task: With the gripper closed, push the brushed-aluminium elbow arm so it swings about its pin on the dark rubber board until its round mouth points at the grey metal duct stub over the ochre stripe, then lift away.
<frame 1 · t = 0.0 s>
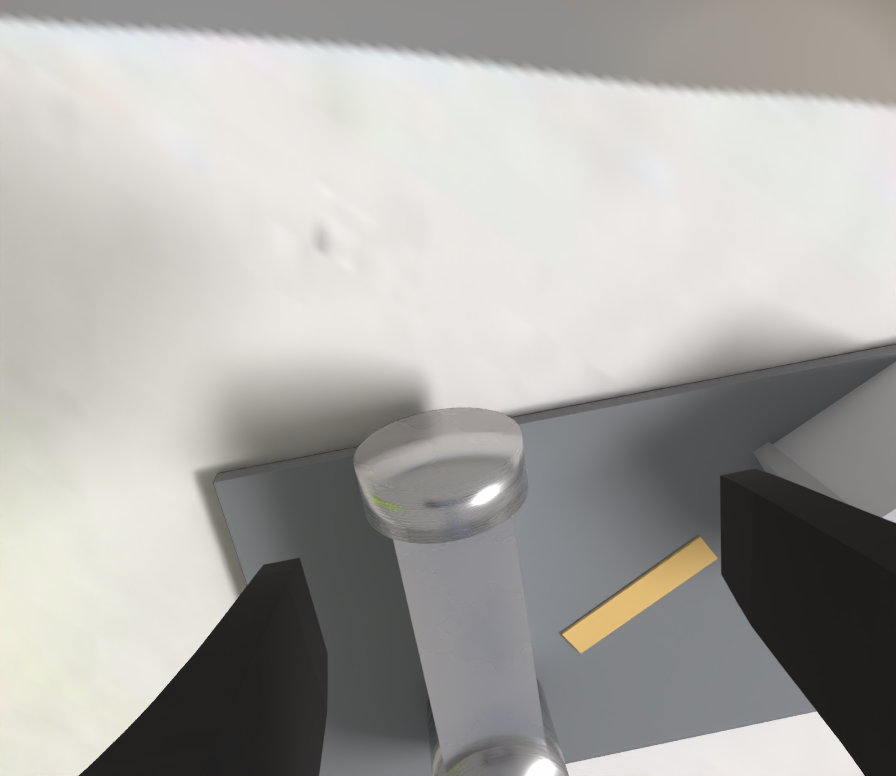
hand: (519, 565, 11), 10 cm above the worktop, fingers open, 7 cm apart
duct board: (617, 587, 24), on the worktop
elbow: (475, 647, 21), point 3 cm above the worktop, hinge at 0.0°
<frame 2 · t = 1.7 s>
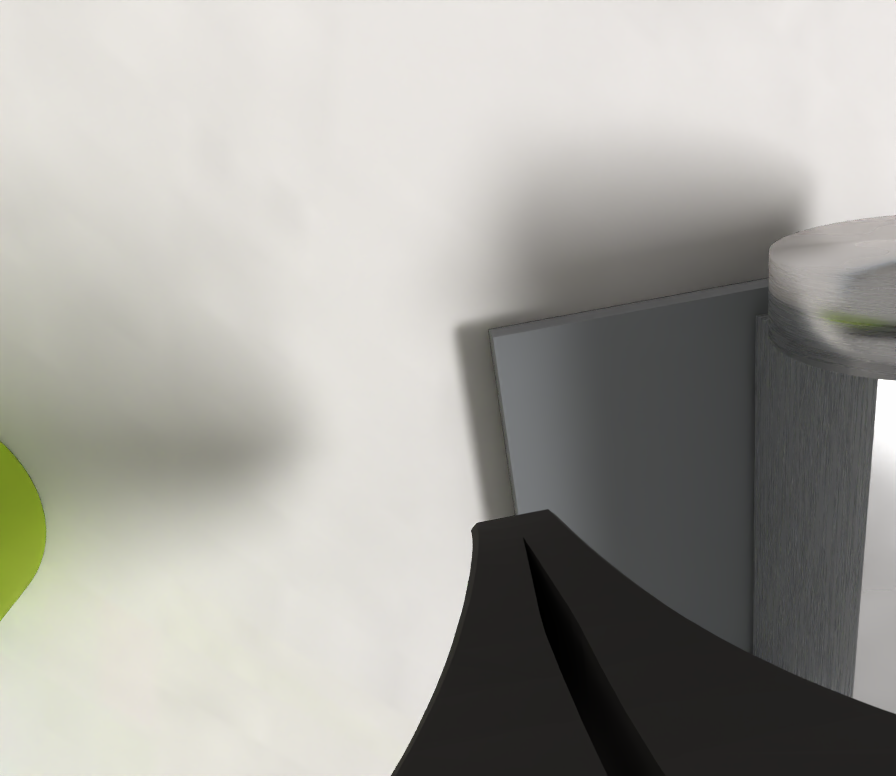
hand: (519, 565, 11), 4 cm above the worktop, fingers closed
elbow: (889, 590, 14), point 3 cm above the worktop, hinge at 0.0°
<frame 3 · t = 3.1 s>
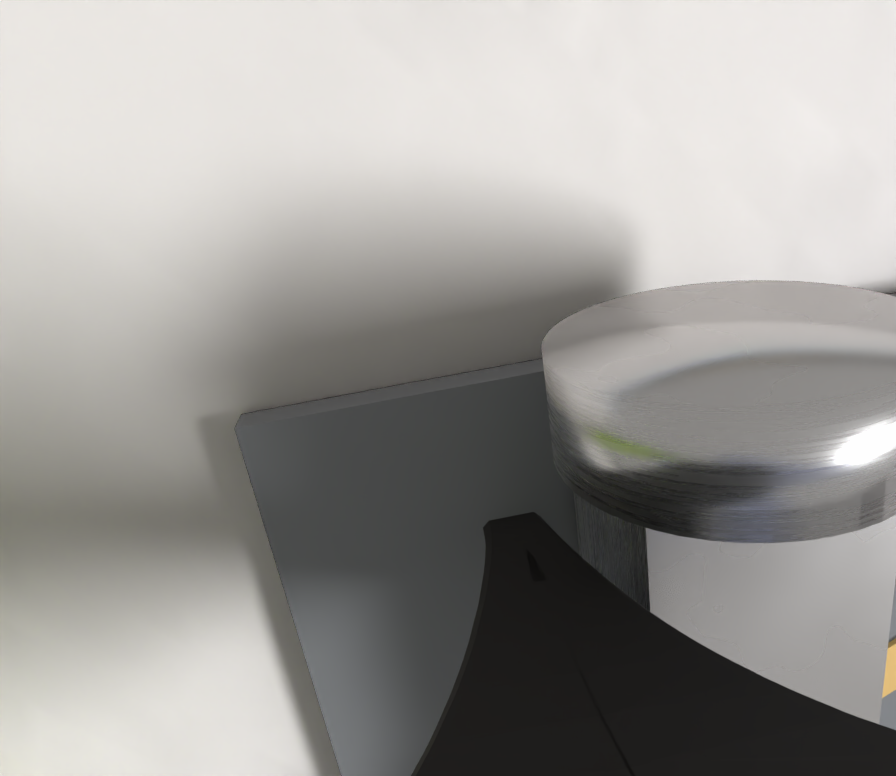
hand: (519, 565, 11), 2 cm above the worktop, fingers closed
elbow: (724, 738, 11), point 3 cm above the worktop, hinge at -0.2°, touching gripper
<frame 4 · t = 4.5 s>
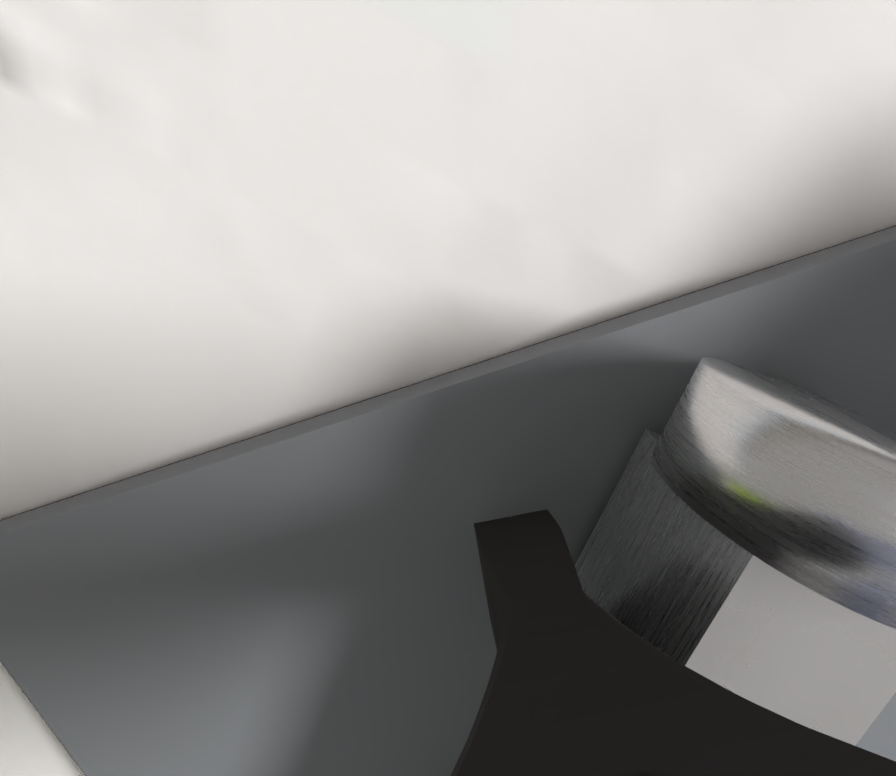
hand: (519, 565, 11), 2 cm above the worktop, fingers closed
duct board: (689, 638, 14), on the worktop
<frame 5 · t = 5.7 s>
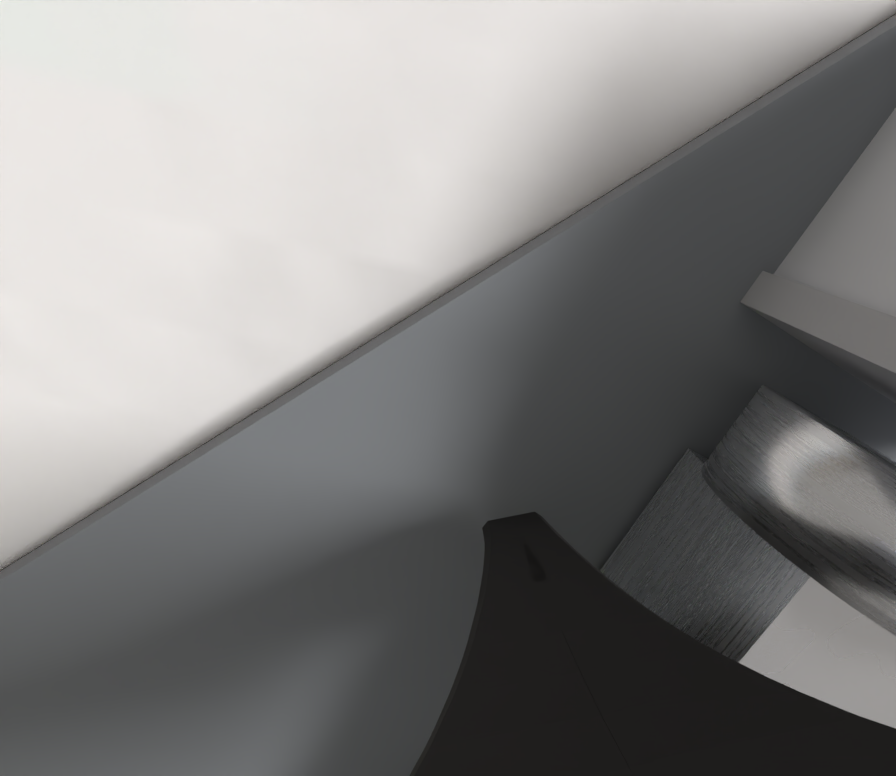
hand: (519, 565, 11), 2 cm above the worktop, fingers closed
duct board: (605, 610, 14), on the worktop
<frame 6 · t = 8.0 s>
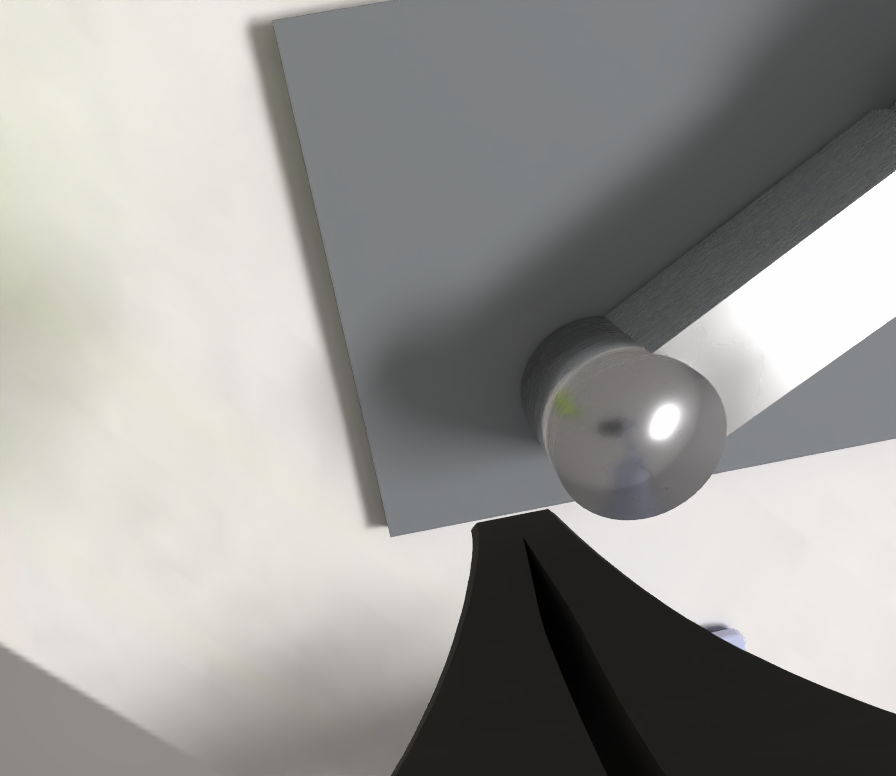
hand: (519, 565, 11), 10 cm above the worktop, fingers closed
duct board: (754, 235, 20), on the worktop
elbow: (773, 301, 17), point 3 cm above the worktop, hinge at -60.7°
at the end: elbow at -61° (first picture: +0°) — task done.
